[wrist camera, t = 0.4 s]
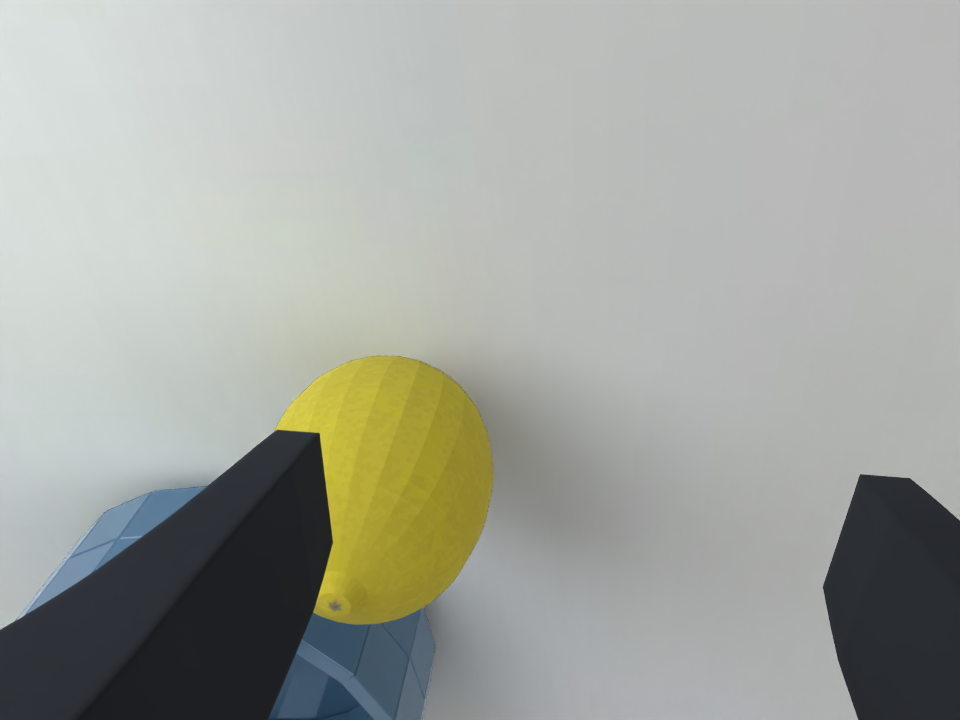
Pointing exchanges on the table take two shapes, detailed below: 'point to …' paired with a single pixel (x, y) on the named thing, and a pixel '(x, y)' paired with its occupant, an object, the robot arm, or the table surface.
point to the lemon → (395, 483)
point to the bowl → (323, 649)
